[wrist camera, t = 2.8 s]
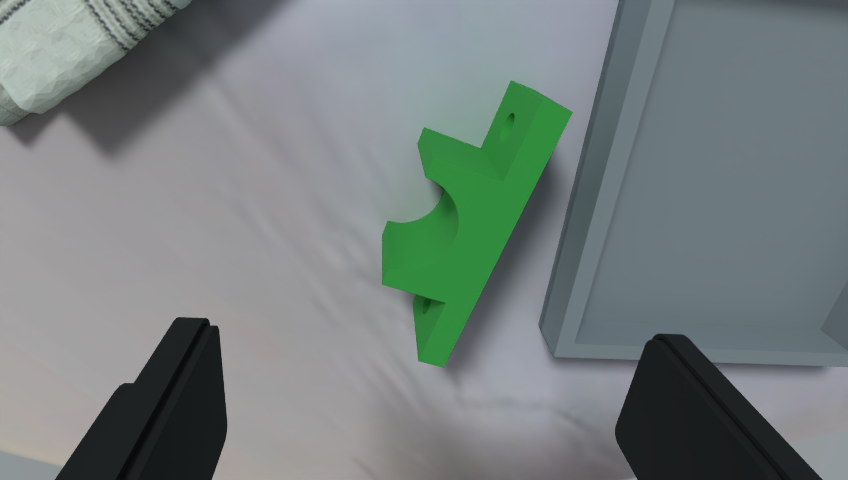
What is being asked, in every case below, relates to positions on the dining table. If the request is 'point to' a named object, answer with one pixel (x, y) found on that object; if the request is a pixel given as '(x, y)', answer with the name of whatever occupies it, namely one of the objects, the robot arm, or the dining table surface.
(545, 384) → the dining table surface
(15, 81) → the dish towel
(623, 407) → the robot arm
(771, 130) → the tray
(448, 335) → the pipe clamp
